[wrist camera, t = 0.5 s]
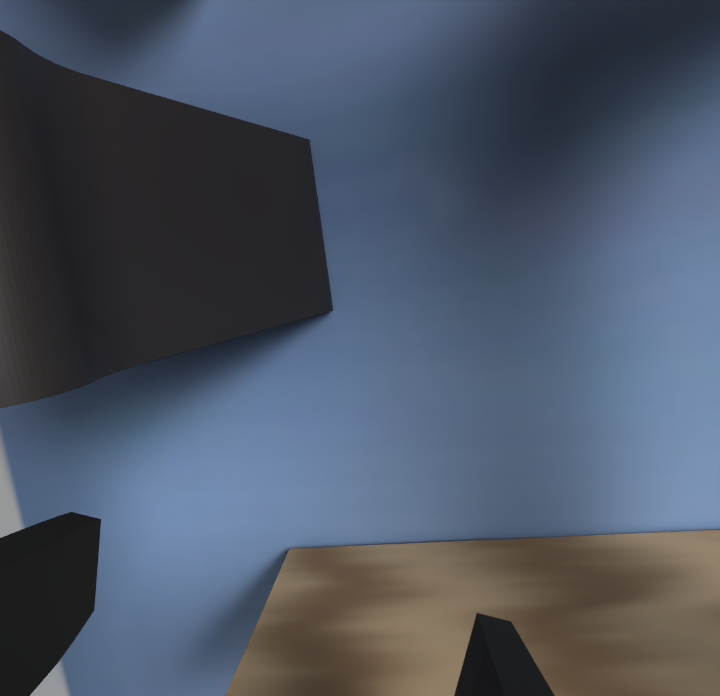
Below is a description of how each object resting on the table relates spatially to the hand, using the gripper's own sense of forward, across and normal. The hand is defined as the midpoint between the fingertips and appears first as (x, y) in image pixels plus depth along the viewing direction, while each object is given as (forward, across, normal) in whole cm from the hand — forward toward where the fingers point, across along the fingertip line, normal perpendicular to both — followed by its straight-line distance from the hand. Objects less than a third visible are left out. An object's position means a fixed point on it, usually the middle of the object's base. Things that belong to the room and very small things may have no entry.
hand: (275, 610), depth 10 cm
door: (+10, -8, +4) cm, 14 cm away
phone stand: (+11, +7, -5) cm, 14 cm away
